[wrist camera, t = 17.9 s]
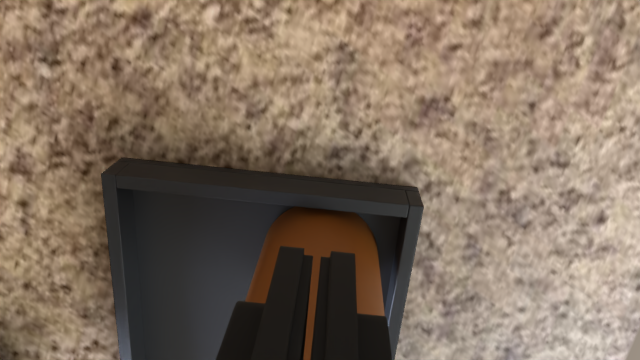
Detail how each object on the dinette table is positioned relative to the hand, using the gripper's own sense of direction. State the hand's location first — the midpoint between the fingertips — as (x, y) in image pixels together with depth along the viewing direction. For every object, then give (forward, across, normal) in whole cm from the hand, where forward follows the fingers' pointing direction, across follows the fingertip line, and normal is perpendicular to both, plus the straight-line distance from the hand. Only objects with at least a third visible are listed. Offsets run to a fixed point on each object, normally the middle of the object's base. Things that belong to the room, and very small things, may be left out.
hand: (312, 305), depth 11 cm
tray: (+17, +3, +21) cm, 27 cm away
